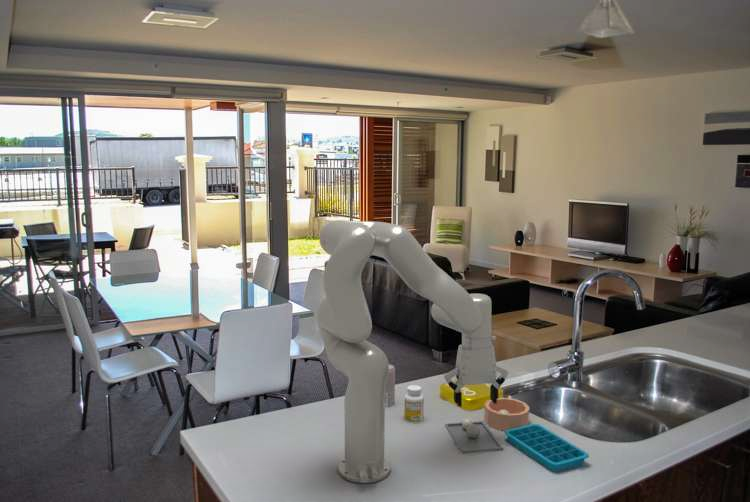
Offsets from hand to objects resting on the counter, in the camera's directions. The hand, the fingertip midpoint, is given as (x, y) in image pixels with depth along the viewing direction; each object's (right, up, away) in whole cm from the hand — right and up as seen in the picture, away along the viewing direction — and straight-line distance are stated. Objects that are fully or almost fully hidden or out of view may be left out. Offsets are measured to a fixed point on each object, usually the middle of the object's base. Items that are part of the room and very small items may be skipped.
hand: (476, 403), depth 164 cm
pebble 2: (-1, -9, +1) cm, 10 cm away
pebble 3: (+9, -8, +9) cm, 15 cm away
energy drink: (-24, -6, +24) cm, 34 cm away
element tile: (+3, -6, +28) cm, 29 cm away
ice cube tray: (+16, -12, -6) cm, 21 cm away
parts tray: (-1, -10, +1) cm, 10 cm away
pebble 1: (-1, -9, +6) cm, 11 cm away
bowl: (+10, -8, +11) cm, 17 cm away
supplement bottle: (-16, -8, +13) cm, 22 cm away
